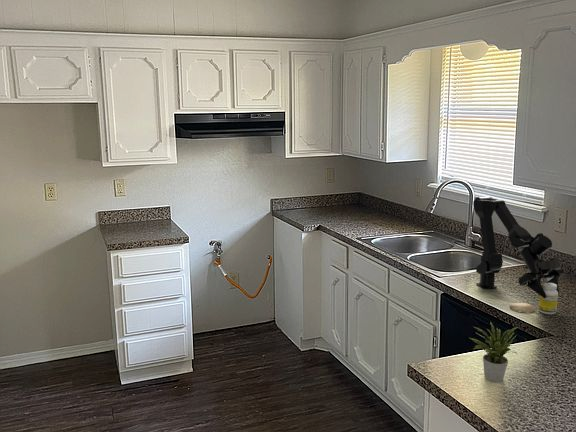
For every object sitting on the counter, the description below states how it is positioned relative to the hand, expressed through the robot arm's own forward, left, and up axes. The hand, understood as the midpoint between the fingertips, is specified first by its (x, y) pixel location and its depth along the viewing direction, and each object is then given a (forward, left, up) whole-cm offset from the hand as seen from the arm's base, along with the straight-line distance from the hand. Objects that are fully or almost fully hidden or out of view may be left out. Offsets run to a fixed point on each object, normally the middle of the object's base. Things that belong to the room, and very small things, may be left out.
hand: (551, 296), depth 223 cm
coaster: (-7, -7, -7) cm, 12 cm away
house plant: (+41, -49, -7) cm, 64 cm away
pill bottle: (-1, 0, -7) cm, 7 cm away
